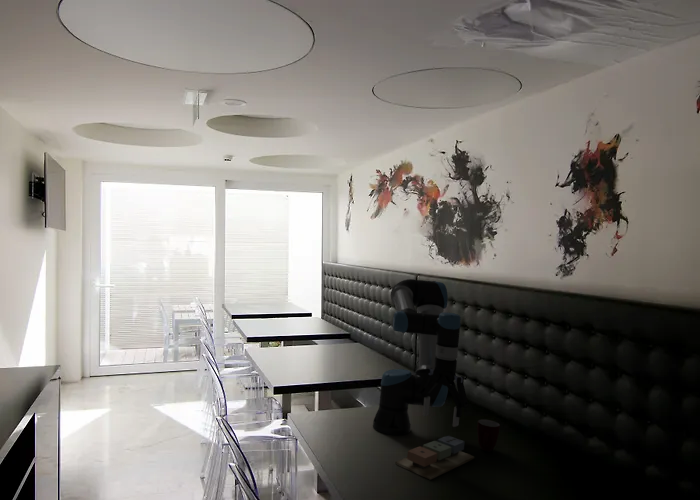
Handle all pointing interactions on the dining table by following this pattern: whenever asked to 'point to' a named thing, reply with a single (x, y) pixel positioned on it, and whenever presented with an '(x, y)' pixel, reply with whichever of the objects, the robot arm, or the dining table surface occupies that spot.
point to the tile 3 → (452, 443)
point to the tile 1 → (422, 456)
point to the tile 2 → (438, 449)
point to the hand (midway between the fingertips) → (440, 420)
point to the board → (436, 465)
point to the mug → (487, 434)
